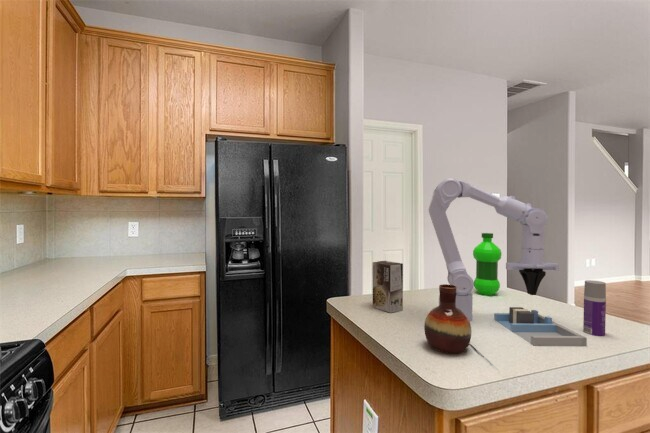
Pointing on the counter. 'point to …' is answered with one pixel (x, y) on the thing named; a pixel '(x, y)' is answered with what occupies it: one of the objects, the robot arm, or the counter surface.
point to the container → (594, 308)
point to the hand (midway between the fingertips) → (531, 294)
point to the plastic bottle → (487, 266)
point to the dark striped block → (520, 315)
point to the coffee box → (387, 286)
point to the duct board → (542, 331)
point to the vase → (447, 324)
